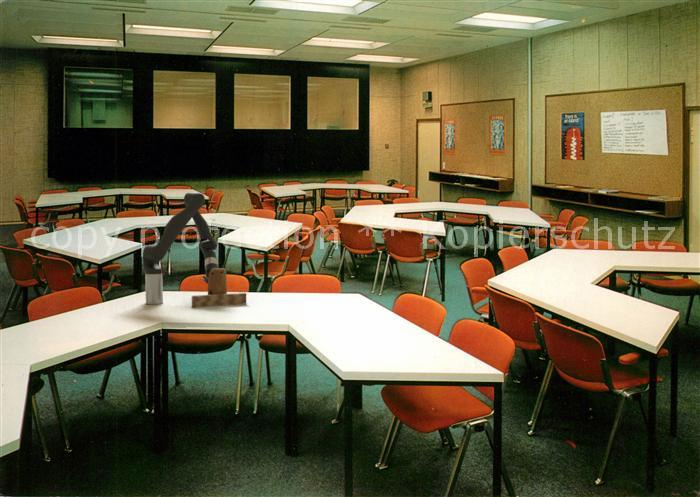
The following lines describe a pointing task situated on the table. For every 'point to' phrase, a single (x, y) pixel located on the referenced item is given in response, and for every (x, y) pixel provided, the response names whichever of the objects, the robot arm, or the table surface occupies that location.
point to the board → (218, 299)
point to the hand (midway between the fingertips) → (214, 289)
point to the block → (217, 281)
